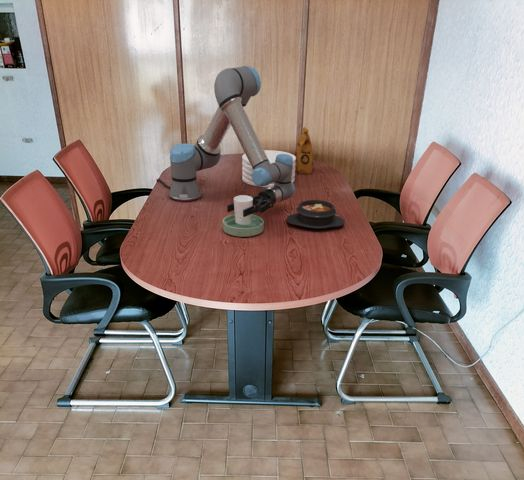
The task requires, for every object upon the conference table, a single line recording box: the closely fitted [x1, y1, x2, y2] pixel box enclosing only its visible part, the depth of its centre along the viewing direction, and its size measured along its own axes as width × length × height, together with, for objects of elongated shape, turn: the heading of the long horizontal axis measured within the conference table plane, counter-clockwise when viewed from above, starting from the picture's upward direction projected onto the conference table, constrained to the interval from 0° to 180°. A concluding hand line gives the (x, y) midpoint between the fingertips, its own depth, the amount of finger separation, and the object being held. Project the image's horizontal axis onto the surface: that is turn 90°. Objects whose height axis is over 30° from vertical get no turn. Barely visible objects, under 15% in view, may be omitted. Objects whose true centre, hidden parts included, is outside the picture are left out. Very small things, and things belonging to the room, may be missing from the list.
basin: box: [221, 213, 265, 238], centre depth 218 cm, size 17×17×4 cm
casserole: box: [286, 199, 345, 230], centre depth 223 cm, size 25×19×8 cm
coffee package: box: [294, 126, 314, 175], centre depth 285 cm, size 10×12×22 cm
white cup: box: [233, 194, 254, 225], centre depth 214 cm, size 8×8×10 cm
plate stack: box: [241, 149, 296, 188], centre depth 274 cm, size 28×28×12 cm
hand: (235, 211), depth 210 cm, fingers closed on white cup, 8 cm apart
